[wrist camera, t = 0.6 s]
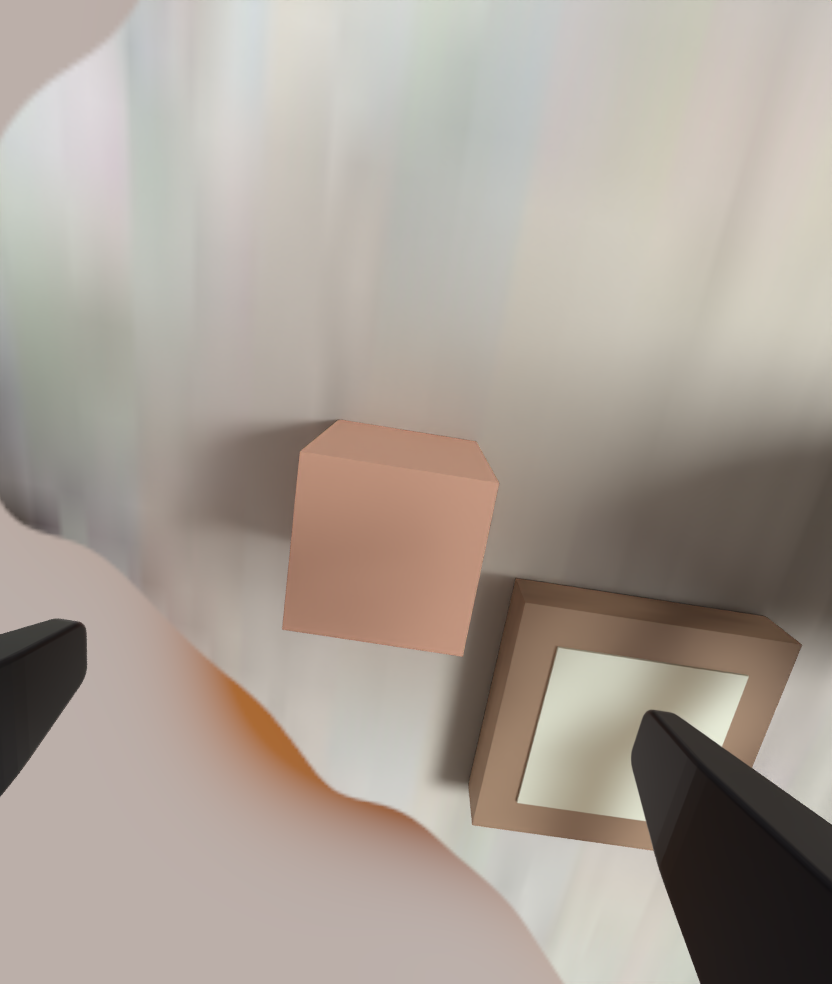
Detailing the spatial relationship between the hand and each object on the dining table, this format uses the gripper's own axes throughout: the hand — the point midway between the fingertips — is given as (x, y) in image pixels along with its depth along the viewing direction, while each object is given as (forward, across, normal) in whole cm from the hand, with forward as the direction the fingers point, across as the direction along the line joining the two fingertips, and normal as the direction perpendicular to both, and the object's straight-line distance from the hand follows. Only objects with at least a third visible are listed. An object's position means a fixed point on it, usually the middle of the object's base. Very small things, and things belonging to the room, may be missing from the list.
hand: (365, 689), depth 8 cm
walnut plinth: (+11, -10, +8) cm, 17 cm away
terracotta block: (+11, 0, 0) cm, 11 cm away
